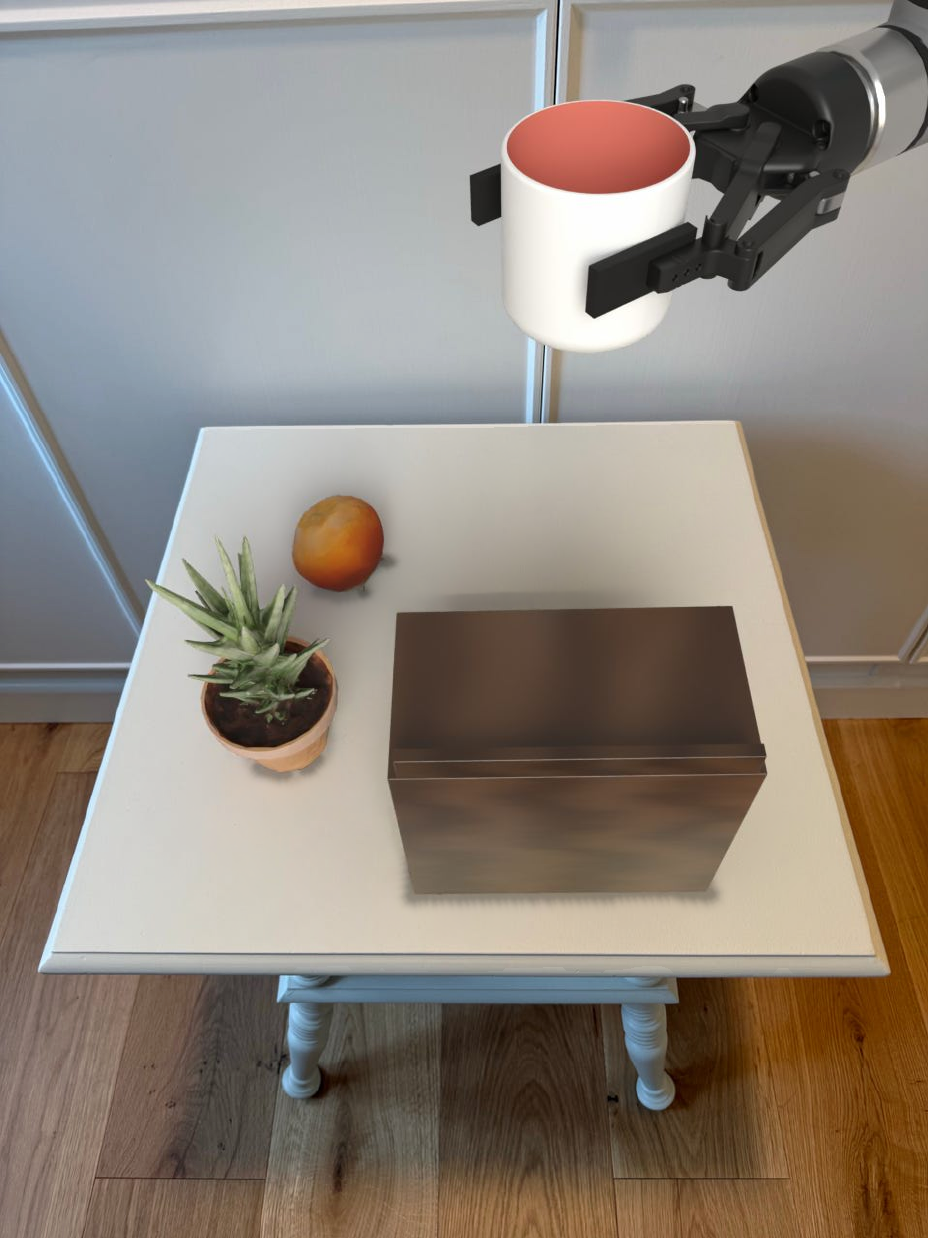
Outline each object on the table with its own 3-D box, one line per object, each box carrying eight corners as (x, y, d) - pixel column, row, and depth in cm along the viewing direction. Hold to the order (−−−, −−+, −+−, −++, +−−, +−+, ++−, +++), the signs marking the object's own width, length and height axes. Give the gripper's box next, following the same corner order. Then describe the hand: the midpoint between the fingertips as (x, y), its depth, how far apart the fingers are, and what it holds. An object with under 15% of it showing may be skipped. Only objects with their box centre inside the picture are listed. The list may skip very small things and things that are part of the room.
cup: (703, 320, 55) (738, 152, 46) (569, 387, 52) (581, 220, 44) (597, 243, 60) (611, 80, 52) (470, 300, 57) (463, 136, 49)
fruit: (385, 609, 76) (327, 543, 71) (319, 616, 81) (261, 555, 76) (421, 538, 80) (369, 471, 76) (357, 549, 85) (303, 487, 80)
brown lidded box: (684, 747, 69) (739, 584, 53) (706, 891, 63) (777, 756, 47) (419, 751, 70) (393, 591, 54) (414, 894, 63) (382, 762, 47)
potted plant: (226, 805, 68) (109, 606, 48) (225, 696, 73) (120, 476, 53) (361, 784, 68) (302, 578, 48) (350, 677, 74) (293, 453, 54)
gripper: (953, 260, 53) (658, 413, 47) (690, 110, 65) (423, 217, 58) (1011, 129, 47) (681, 283, 41) (709, -11, 59) (413, 92, 52)
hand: (529, 244), depth 49 cm, fingers closed on cup, 10 cm apart
